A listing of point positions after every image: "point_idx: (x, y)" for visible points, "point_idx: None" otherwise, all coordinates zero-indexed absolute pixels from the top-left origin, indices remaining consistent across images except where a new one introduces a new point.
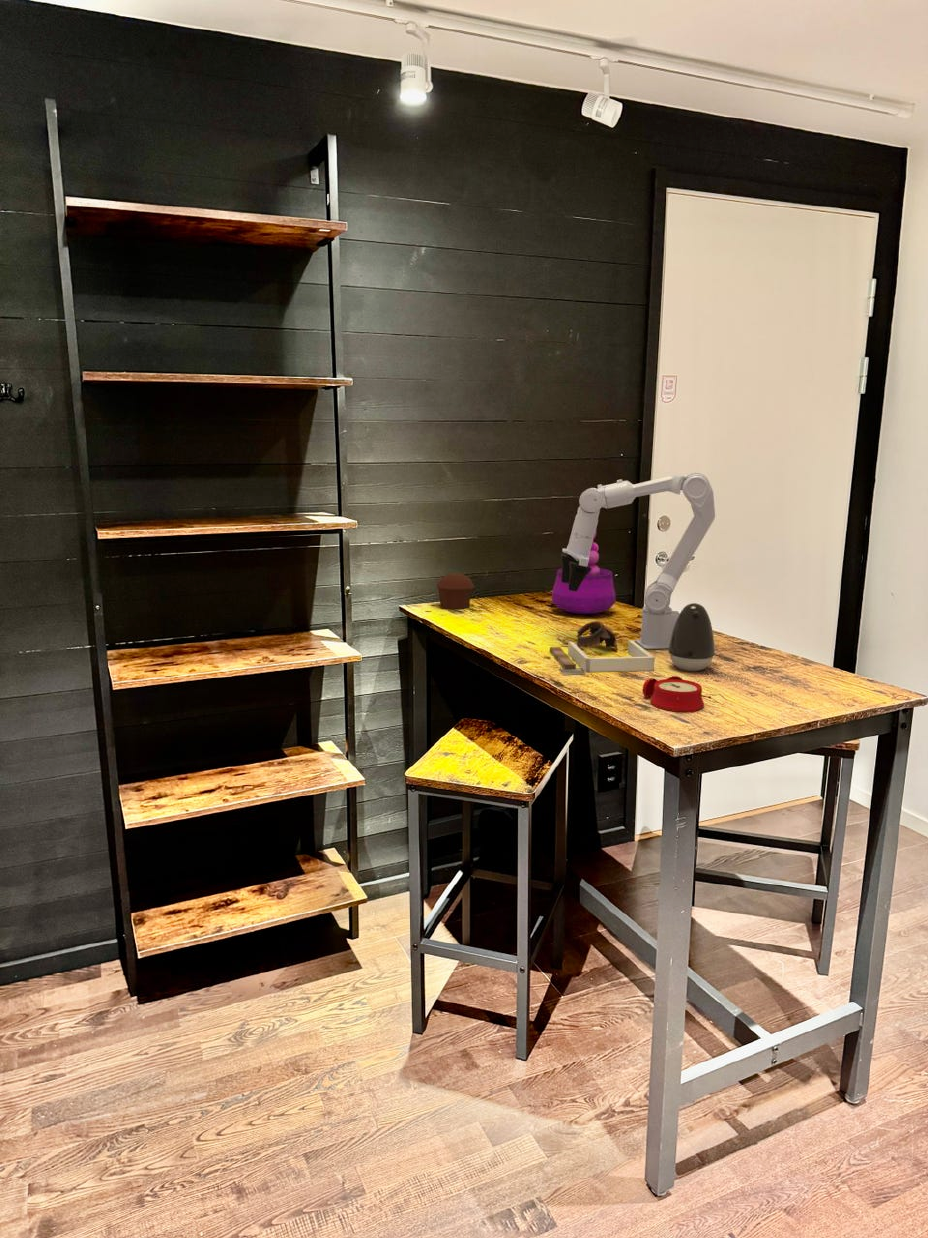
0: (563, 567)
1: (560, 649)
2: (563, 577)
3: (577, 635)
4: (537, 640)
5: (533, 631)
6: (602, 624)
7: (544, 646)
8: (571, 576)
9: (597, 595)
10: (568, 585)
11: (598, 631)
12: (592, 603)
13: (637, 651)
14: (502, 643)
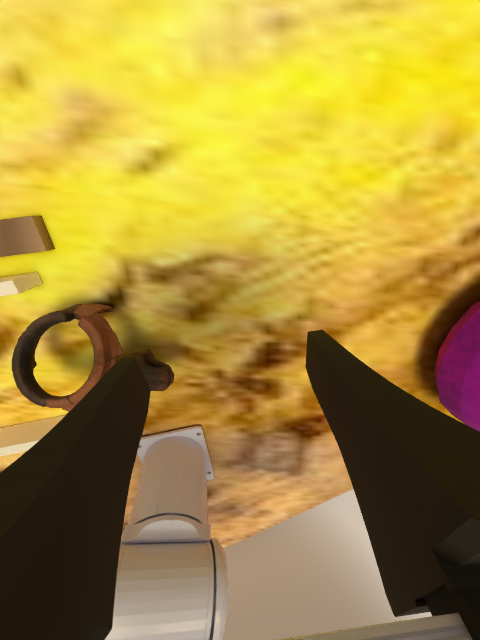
0: (363, 403)
1: (9, 249)
2: (319, 354)
3: (60, 314)
4: (188, 188)
5: (305, 186)
6: (49, 405)
7: (111, 205)
8: (35, 445)
9: (468, 402)
10: (122, 370)
11: (17, 383)
12: (447, 377)
13: (20, 437)
14: (120, 27)
